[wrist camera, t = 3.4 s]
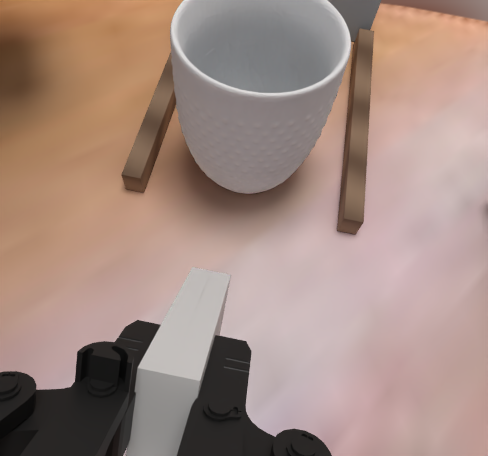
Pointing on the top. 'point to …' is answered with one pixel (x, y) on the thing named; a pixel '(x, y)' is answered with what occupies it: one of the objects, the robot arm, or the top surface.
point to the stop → (357, 14)
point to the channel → (355, 138)
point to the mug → (255, 84)
